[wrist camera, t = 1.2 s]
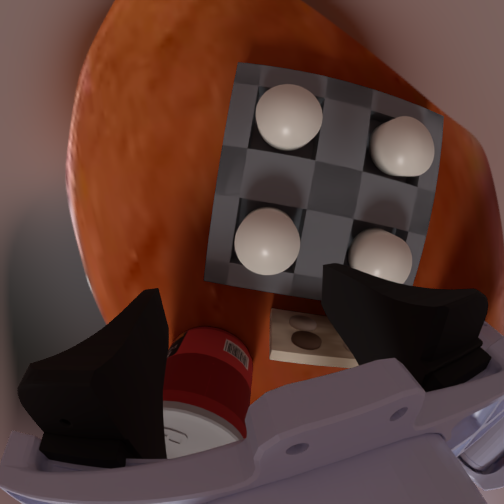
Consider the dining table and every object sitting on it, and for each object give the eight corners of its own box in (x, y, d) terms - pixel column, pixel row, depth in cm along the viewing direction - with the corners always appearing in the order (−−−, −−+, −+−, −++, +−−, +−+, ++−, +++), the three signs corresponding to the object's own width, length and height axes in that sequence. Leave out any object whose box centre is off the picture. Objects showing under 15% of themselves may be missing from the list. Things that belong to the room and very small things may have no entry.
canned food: (171, 317, 25) (120, 394, 15) (258, 329, 25) (251, 420, 14) (173, 380, 27) (138, 459, 17) (249, 392, 27) (240, 480, 16)
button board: (425, 121, 20) (443, 116, 17) (390, 297, 24) (403, 311, 21) (242, 76, 20) (238, 62, 17) (211, 268, 24) (203, 280, 21)
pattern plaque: (369, 318, 24) (394, 358, 18) (365, 328, 24) (388, 369, 18) (272, 305, 24) (272, 346, 18) (269, 316, 25) (269, 359, 18)
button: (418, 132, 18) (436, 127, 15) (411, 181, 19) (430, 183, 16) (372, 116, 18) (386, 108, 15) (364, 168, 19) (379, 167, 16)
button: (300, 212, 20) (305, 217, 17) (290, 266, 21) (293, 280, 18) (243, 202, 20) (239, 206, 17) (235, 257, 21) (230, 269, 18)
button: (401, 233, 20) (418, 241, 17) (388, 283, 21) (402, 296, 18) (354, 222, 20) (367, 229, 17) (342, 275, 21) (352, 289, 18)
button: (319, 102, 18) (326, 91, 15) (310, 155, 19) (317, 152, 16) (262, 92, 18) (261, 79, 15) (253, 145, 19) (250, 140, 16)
